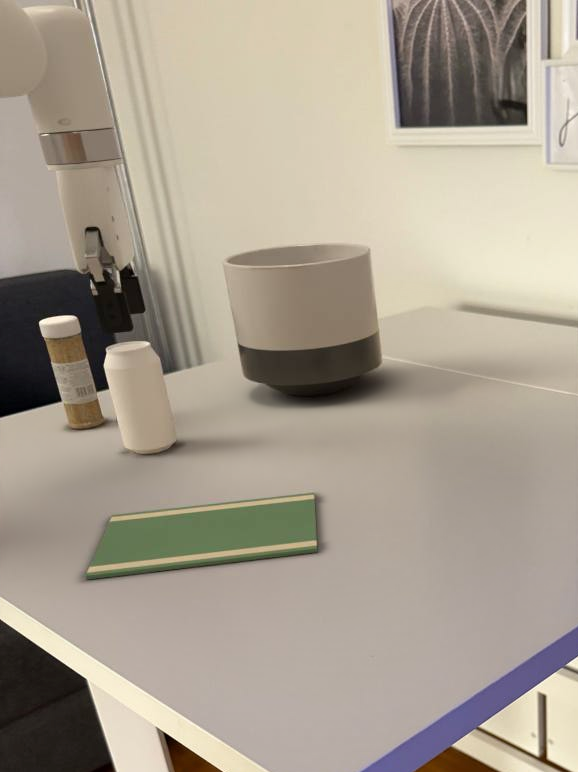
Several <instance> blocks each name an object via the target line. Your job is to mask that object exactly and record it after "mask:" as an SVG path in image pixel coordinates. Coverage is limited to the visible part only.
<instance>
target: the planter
mask: <svg viewBox="0 0 578 772" xmlns="http://www.w3.org/2000/svg"><path fill="white" fill-rule="evenodd" d="M222 266H223V273H224V278H225V283H226V288H227V294H228V299H229V304H230V310H231V317H232V322H233V326H234V327H233V328H234V332H235V338H236V343H237V349H238V354H239V360H240V365H241V372H242V375H243V377H244V378H245V379H247V380H249V381H251V382H253V383H258V384H262V385H263V384H264V385H266V386H267V387H269V388H271V389H273V390H275V391H277V392H281V393H284V394H288V395H292V396H297V397H317V396H324V395H328V394H329V395H330V394H334V393H337V392H339V391H342V390H344V389H345V388H346V389H347V388H348V387H349V386H351V385H353V384H355V383H356V382H357V381H358V380H360V379H361V378H362V377H363V376H364V375H365V374H367V373H370V372H372V371H374V370H376V369H377V368H379V367H380V366H381V365H382V362H383V355H382V354H383V353H382V345H381V335H380V326H379V317H378V307H377V298H376V296H377V295H376V287H375V278H374V269H373V258H372V251H371V248H369V246H366V245H364V244H363V245H362V244H357V243H349V242H348V243H347V242H319V243H318V242H316V243H315V242H314V243H298V244H287V245H279V246H269V247H264V248H256V249H251V250H246V251H242V252H238V253H235V254H232V255H229V256H227V257H225V258H224V259H223V260H222Z"/></svg>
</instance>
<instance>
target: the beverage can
mask: <svg viewBox="0 0 578 772" xmlns="http://www.w3.org/2000/svg"><path fill="white" fill-rule="evenodd" d="M105 352H106V355H105V358H104V363H103V369H104V373H105V377H106V382H107V385H108V389H109V393H110V397H111V400H112V405H113V408H114V412H115V415H116V417H115V418H116V420H117V424H118V428H119V432H120V436H121V439H122V443H123V446H124V447H125V449H128V450H130V451H133V453H136V454H139V455H151V454H157V453H160V452H164V451H166V450H168V449H170V448H171V447H172V445H173V444H174V443H176V441H177V440H178V435H177V429H176V426H175V419H174V416H173V411H172V406H171V402H170V398H169V393H168V388H167V385H166V380H165V376H164V372H163V371H164V370H163V366H162V361H161V358H160V356H159V355H158V354H157V352H155V350H154V349H153V348H152V345H151V343H150V342H149V341H144V340H134V341H133V340H132V341H124V342H119V343H114V344H112V345H109V346H107V347H106V348H105Z"/></svg>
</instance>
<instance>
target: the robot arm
mask: <svg viewBox="0 0 578 772" xmlns="http://www.w3.org/2000/svg"><path fill="white" fill-rule="evenodd" d="M99 57H100V56H99V53H98V49H97V44H96V39H95V36H94V31H93V28H92V25H91V22H90V19H89V18H88V16H87V15H86V14H85V13H84V11H83V10H81V9H79V8H78V7H76V6H69V5H38V6H37V5H35V6H28V7H21V6H20V4H18V3H17V2H16V1H15V0H0V99H6V98H18V97H22V96H25V95H27V100H28V103H29V107H30V110H31V114H32V118H33V121H34V125H35V128H36V133H37V136H38V139H39V143H40V147H41V150H42V154H43V157H44V162H45V164H46V168H47V171H49V172H55V177H56V183H57V190H58V195H59V200H60V206H61V210H62V214H63V219H64V223H65V228H66V232H67V236H68V241H69V245H70V249H71V254H72V259H73V262H74V266H75V269H76V271H77V272H78V273H80V274H82V275H87V273H88V272H89V273H88V278H89V281H90V289H91V292H92V293H91V294H92V297H93V302H94V305H95V310H96V312H97V316H98V321H99V323H100V324H99V325H100V327H101V331H102V333H103V334H105V335H110V334H119V333H120V334H121V333H130V332H132V331H133V330H134V328H135V327H134V322H133V319H132V315H138V314H145V312H146V310H147V309H146V305H145V300H144V296H143V292H142V287H141V284H140V280H139V275H137V270H136V266H135V264H134V262H133V259H134V257H135V249H134V241H133V238H132V234H131V227H130V223H129V220H128V216H127V211H126V207H125V204H124V200H123V195H122V192H121V189H120V183H119V180H118V178H117V173H116V169H115V166H117V165H123V164H125V163H124V159H123V154H122V150H121V147H120V142H119V138H118V133H117V129H116V125H115V121H114V117H113V113H112V109H111V104H110V100H109V96H108V91H107V87H106V82H105V79H104V75H103V74H104V73H103V70H102V65H101V61H100V58H99Z"/></svg>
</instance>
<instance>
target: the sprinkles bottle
mask: <svg viewBox="0 0 578 772" xmlns="http://www.w3.org/2000/svg"><path fill="white" fill-rule="evenodd" d="M38 325H39V330H40V333H41V337H43V340H44V341H45V344H46V348H47V351H48V355H49V359H50V363H51V368H52V370H53V374H54V377H55V381H56V385H57V388H58V392H59V395H60V399H61V402H62V404H63V407H64V411H65V414H66V417H67V421H68V422H67V425H68V426H69V427H70V428H71V429H75V430H79V429H80V430H84V429H93V428H95V427H98V426H101V425H103V423H104V422H105V417H104V415H103V413H102V409H101V405H100V401H99V398H98V397H99V396H98V392H97V388H96V384H95V380H94V377H93V374H92V371H91V367H90V362H89V359H88V356H87V353H86V349H85V346H84V342H83V338H82V328H81V325H80V321H79V318H78V316H75V315H57V316H51V317H46V318H44V319H41V320H40V321H39V322H38Z"/></svg>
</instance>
